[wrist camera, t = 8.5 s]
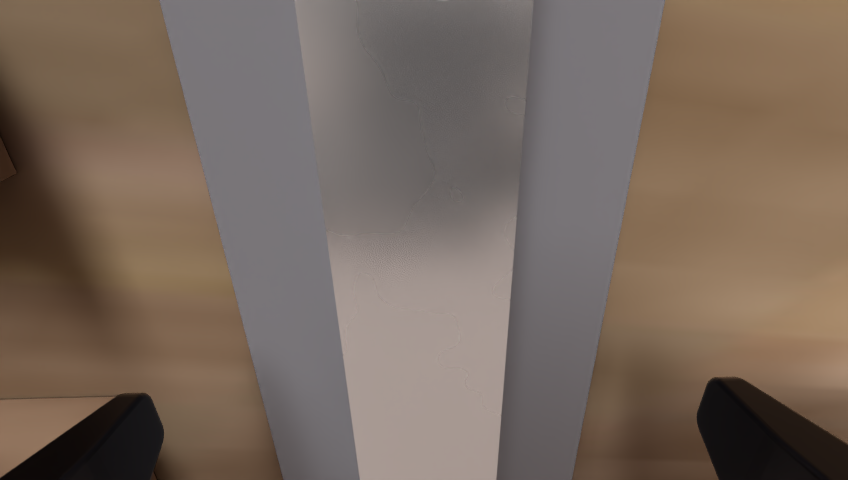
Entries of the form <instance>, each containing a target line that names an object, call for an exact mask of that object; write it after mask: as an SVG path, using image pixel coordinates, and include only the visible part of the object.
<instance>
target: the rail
mask: <svg viewBox="0 0 848 480" xmlns="http://www.w3.org/2000/svg"><path fill="white" fill-rule="evenodd" d="M294 1H295V8H296V15H297V23H298V30H299V37H300V45H301V52H302V59H303V67H304V74H305V81H306V89H307V96H308V103H309V111H310V118H311V125H312V133H313V140H314V147H315V155H316V162H317V169H318V177H319V184H320V191H321V199H322V206H323V213H324V221H325V228H326V235H327V243H328V250H329V257H330V265H331V272H332V279H333V287H334V294H335V301H336V309H337V316H338V323H339V331H340V338H341V345H342V353H343V360H344V367H345V375H346V382H347V389H348V397H349V404H350V411H351V419H352V426H353V433H354V441H355V448H356V455H357V463H358V470H359V477H360V480H496V477H497V465H498V452H499V439H500V426H501V413H502V400H503V387H504V375H505V362H506V349H507V336H508V323H509V310H510V297H511V284H512V272H513V259H514V246H515V233H516V220H517V207H518V194H519V182H520V169H521V156H522V143H523V130H524V117H525V104H526V92H527V79H528V66H529V53H530V40H531V27H532V14H533V1H534V0H294Z"/></svg>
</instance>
